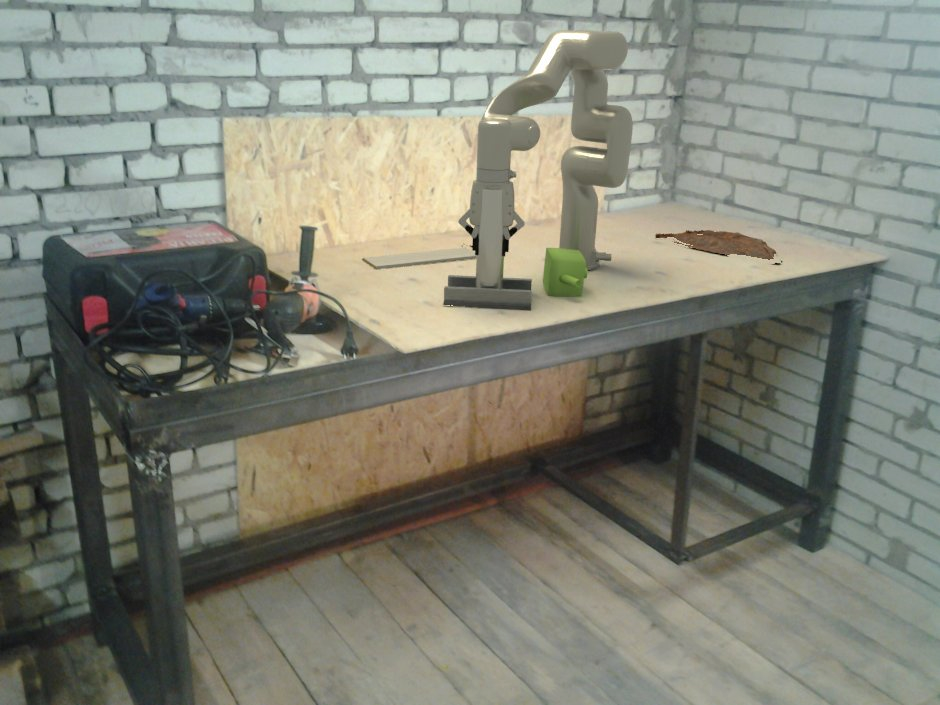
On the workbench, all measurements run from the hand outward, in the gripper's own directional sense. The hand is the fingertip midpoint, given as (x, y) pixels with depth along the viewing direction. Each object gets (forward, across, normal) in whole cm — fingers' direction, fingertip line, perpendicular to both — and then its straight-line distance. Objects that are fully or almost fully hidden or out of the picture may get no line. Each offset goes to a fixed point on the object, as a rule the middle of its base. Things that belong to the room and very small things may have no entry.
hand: (490, 253), depth 202 cm
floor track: (+11, 0, 0) cm, 11 cm away
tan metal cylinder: (+9, 0, 0) cm, 9 cm away
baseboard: (+12, +20, -35) cm, 42 cm away
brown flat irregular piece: (+12, -70, -64) cm, 96 cm away
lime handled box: (+12, -18, -10) cm, 24 cm away
